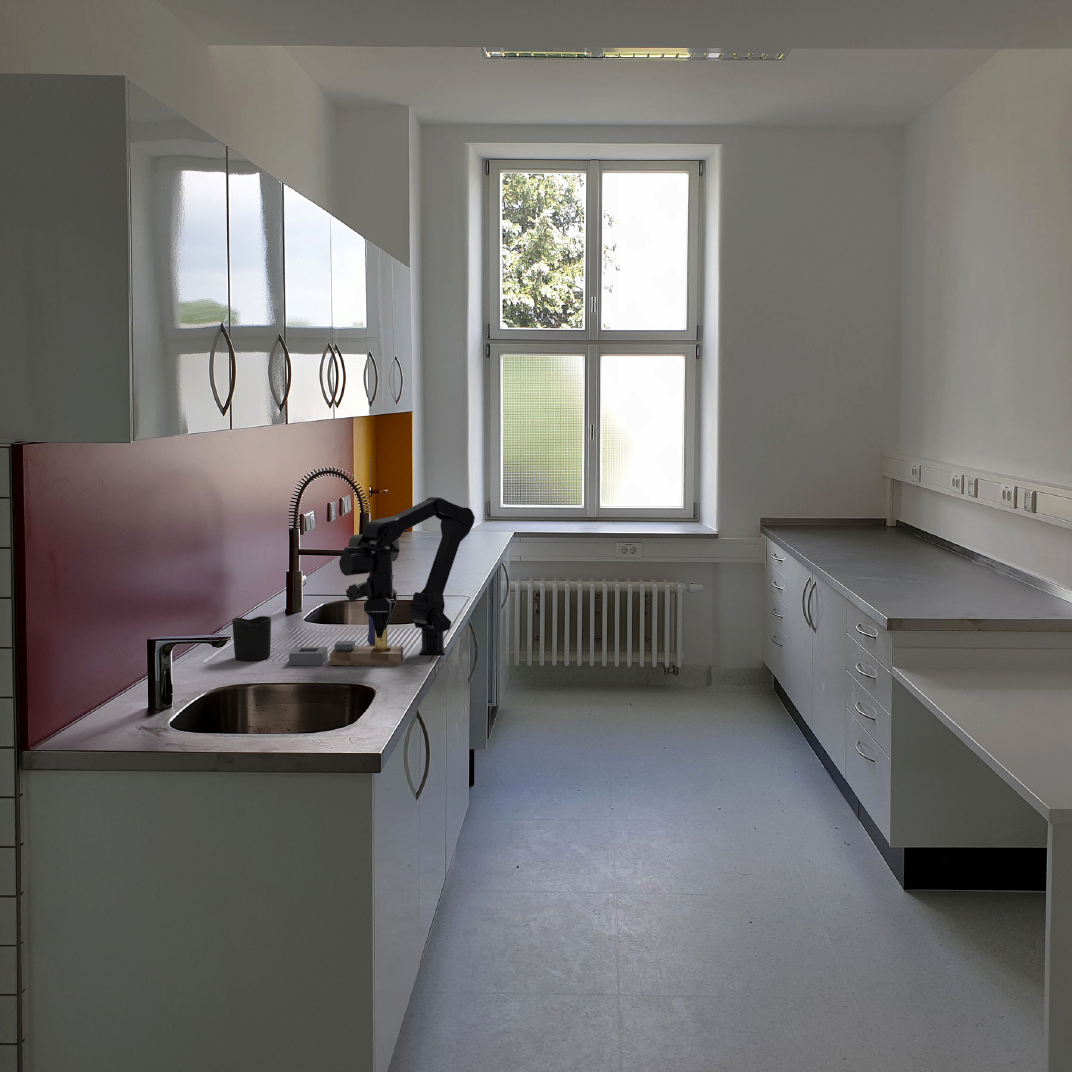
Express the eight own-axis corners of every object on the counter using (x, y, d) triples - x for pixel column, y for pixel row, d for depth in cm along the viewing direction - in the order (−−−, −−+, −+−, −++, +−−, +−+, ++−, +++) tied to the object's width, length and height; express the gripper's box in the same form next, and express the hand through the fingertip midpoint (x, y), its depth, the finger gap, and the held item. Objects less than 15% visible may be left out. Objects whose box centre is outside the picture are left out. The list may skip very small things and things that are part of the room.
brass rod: (376, 660, 266) (375, 629, 265) (388, 660, 266) (387, 629, 265) (374, 663, 263) (374, 631, 262) (386, 663, 263) (386, 631, 262)
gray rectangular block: (337, 659, 266) (337, 640, 266) (355, 658, 266) (355, 640, 266) (334, 662, 262) (334, 644, 261) (352, 662, 262) (352, 644, 261)
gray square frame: (295, 658, 268) (295, 646, 267) (327, 658, 268) (327, 646, 268) (289, 665, 260) (289, 653, 259) (322, 665, 260) (322, 653, 260)
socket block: (335, 658, 268) (335, 646, 268) (403, 657, 269) (403, 646, 269) (330, 665, 259) (329, 653, 259) (399, 665, 260) (399, 653, 260)
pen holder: (246, 653, 274) (246, 614, 273) (278, 655, 271) (278, 616, 270) (225, 660, 265) (224, 621, 264) (258, 663, 262) (257, 623, 261)
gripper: (353, 567, 271) (354, 627, 273) (342, 577, 253) (343, 641, 254) (396, 566, 271) (397, 627, 273) (389, 577, 253) (390, 641, 254)
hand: (381, 634), depth 264 cm, fingers open, 9 cm apart
